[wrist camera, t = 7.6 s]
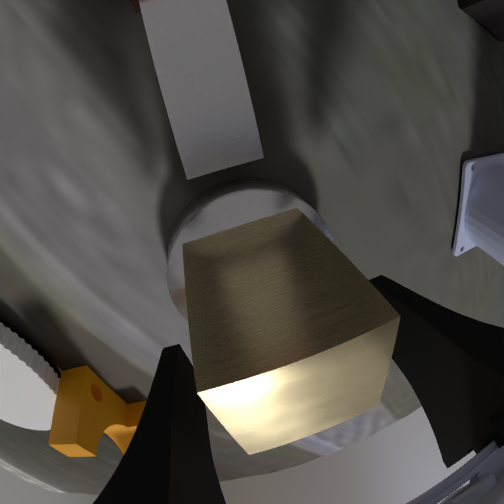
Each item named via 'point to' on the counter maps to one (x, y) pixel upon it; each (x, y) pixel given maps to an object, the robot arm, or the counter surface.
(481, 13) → the phone stand
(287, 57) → the counter surface
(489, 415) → the robot arm
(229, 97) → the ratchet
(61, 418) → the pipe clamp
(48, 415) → the plastic lid
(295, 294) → the tan rectangular block
